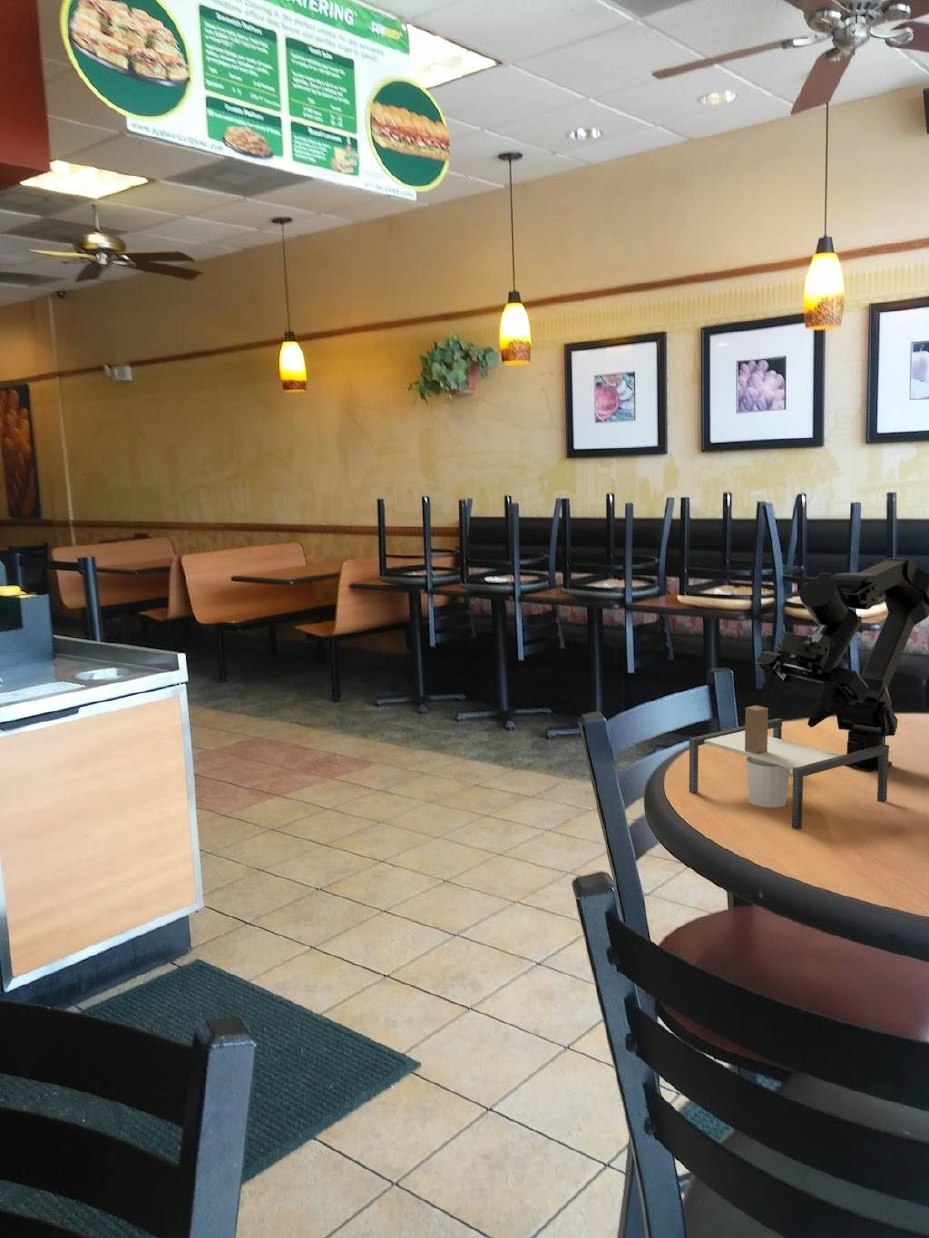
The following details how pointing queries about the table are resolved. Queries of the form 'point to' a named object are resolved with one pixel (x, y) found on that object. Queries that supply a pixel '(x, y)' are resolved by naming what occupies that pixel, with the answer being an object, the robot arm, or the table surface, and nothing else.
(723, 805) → the table surface
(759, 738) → the sliding cover
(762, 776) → the white cup
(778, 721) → the cover frame
